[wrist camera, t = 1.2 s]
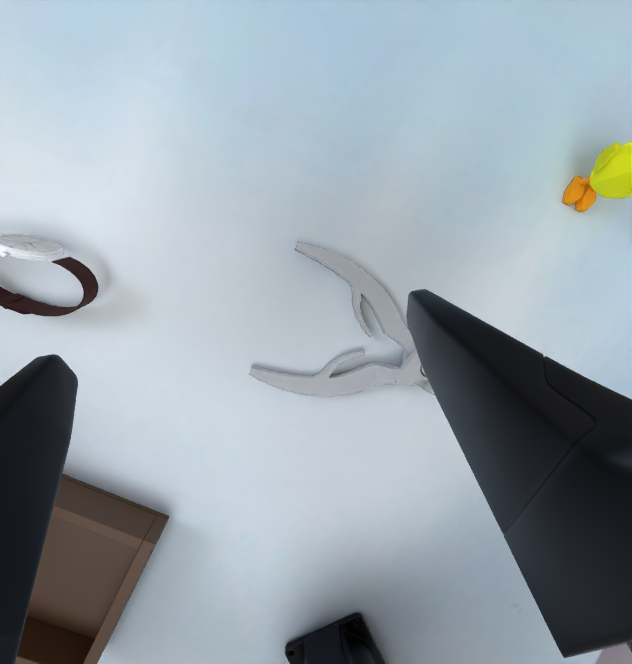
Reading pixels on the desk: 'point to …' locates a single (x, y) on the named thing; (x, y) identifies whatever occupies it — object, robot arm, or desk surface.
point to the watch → (43, 251)
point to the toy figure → (603, 178)
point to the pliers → (363, 375)
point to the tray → (86, 573)
